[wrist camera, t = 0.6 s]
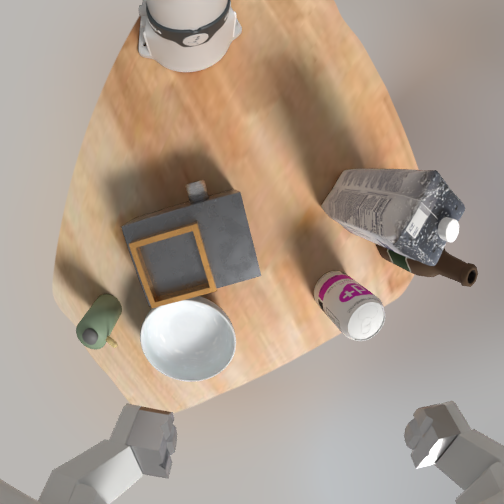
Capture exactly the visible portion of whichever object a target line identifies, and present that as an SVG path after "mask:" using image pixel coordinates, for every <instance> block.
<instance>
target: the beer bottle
mask: <svg viewBox="0 0 504 504" xmlns="http://www.w3.org/2000/svg"><path fill="white" fill-rule="evenodd" d="M376 246H377V248H378V250H379V252H380V254H381V256H382V257H383V258H384V259H386V260H388V261H390V262H392V263H394V264H395V265H397V266H399V267H401V268H403V269H405V270H407V271H409V272H411V273H413V274H416V275H419V276H426V277H434V276H436V275H439V274H440V275H442V276H445V277H448V278H450V279H453V280H455V281H458V282H460V283H461V284H462V286H469V287H471V286H472V285H473V284H474V283H475V281H476V278H477V275H478V272H477V267H476V266H475V265H474V264H470V263H468V264H467V263H465V262H463V261H462V260H460V259H458V258H456V257H454V256H452V255H450V254H449V253H447V252H446V251H445V249H443V251H442V254H441V256H440V258H439V260H438V262H437V264H436V265H435V266H429V265H426V264H424V263H421V262H419V261H417V260H413V259H410V258H408V257H405V256H403V255H401V254H398V253H396V252H394V251H392V250H389V249H387V248H385V247H383V246H380V245H378V244H377V245H376Z"/></svg>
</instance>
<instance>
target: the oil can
mask: <svg viewBox="0 0 504 504" xmlns="http://www.w3.org/2000/svg"><path fill="white" fill-rule="evenodd" d="M121 312H122V307H121V304H120V302H119V300H118V299H117V298H116V297H114V296H112V295H110V294H103V295H101V296H99V297H98V298H97V300H96V301H95V302H94V304H93V305H92V306H91V308H90V309H89V310H88V312H87V313H86V314H85V316H84V317H83V318H82V320H81V321H80V322H79V324H78V325H77V328H76V333H77V337H78V339H79V340H80V341H81V343H82V344H83V345H85V346H86V347H88V348H91V349H100V348H102V347H103V346H104V345H105V344H106V342H108V343H109V344H110V345H111V346H112V347H114V348H116V347H117V346H118V344H117V342H115V341H114V340H113V339H112V338H111V337H109V336H110V334H111V332H112V330H113V328H114V326H115V324H116V322H117V320H118V318H119V316H120V315H121Z"/></svg>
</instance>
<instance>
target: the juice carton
mask: <svg viewBox="0 0 504 504" xmlns="http://www.w3.org/2000/svg"><path fill="white" fill-rule="evenodd" d="M321 207H322V209H323V210H324V211H325V212H326V214H327V215H328V216H329V217H331V218H332V219H333V220H335V221H336V222H338V223H339V224H341V225H342V226H343V227H344V228H345V229H346V230H348V231H349V232H351V233H353V234H355V235H357V236H360V237H362V238H364V239H367V240H369V241H371V242H374V243H376V244H378V245H380V246H383V247H385V248H387V249H389V250H392V251H394V252H396V253H398V254H401V255H403V256H405V257H408V258H410V259H413V260H417V261H419V262H421V263H424V264H426V265H429V266H435V265H436V264H437V262H438V260H439V258H440V256H441V254H442V251H443V249H444V246H445V244H446V241H447V242H453V241H454V240H455V239H456V238H457V235H458V233H459V224H458V221H459V219H460V218H461V216H462V214H463V213H464V211H465V207H464V204H463V203H462V202H461V201H460V199H459V198H458V197H457V196H456V195H455V194H454V193H453V191H452V190H451V189H450V188H449V186H448V185H447V184H446V182H445V181H444V180H443V178H442V177H441V176H440V174H439V173H438V172H437V171H436V170H435V171H433V170H428V171H426V170H407V169H349V170H344V171H343V172H342V174H341V175H340V177H339V178H338V180H337V182H336V184H335V185H334V187H333V189H332V190H331V192H330V193H329V194H328V196H327V197H326V199H325V200H324V202H323V203H322V205H321Z"/></svg>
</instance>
